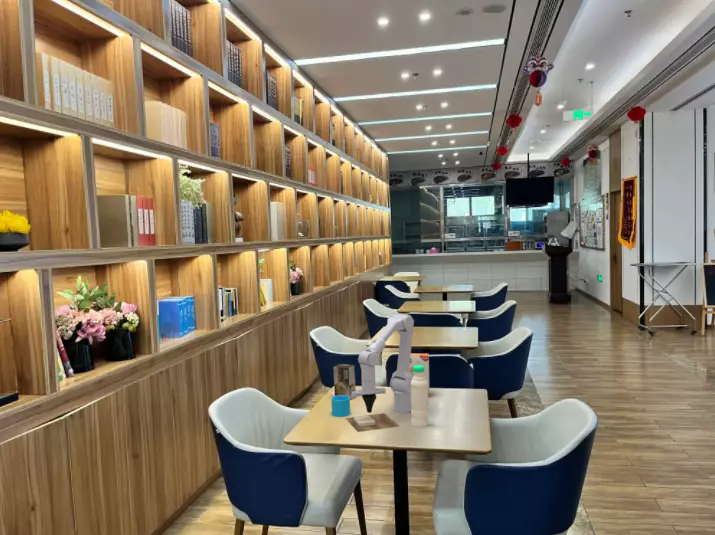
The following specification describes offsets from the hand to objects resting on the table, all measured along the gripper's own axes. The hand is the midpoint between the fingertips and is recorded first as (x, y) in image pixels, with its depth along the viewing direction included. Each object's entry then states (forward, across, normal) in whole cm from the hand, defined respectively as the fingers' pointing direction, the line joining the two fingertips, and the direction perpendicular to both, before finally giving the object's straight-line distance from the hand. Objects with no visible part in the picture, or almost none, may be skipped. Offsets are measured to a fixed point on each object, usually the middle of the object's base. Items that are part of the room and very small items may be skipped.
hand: (369, 412), depth 219 cm
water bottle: (+6, -19, +9) cm, 22 cm away
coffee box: (+6, -2, -42) cm, 42 cm away
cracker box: (+6, -35, -32) cm, 47 cm away
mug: (+6, +7, -17) cm, 19 cm away
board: (+5, -1, 0) cm, 5 cm away
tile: (+4, -1, 0) cm, 4 cm away
